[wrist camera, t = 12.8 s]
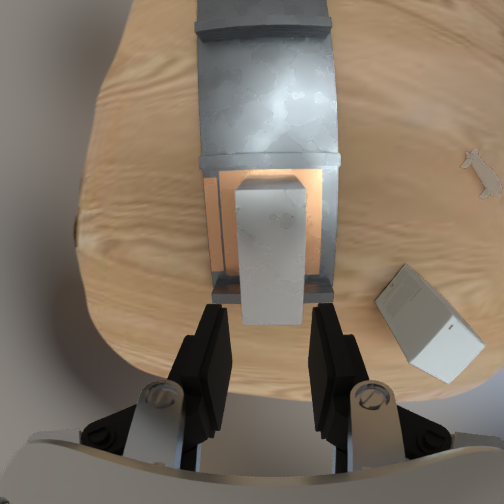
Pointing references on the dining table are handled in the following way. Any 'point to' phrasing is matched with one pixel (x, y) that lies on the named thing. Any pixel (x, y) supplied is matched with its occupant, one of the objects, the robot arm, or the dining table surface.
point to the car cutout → (483, 174)
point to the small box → (427, 326)
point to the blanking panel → (271, 248)
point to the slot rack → (268, 125)
